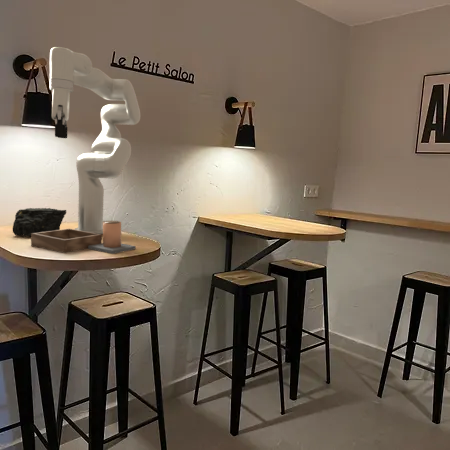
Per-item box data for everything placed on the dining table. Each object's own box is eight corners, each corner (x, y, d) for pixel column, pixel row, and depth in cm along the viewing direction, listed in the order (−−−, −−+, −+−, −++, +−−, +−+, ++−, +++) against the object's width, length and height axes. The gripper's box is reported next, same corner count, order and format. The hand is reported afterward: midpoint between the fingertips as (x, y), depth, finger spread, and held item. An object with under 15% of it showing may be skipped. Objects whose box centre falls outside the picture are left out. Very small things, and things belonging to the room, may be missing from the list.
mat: (111, 244, 160) (111, 241, 160) (135, 249, 154) (135, 246, 154) (88, 248, 150) (88, 245, 150) (112, 253, 145) (112, 250, 145)
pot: (111, 243, 156) (111, 219, 155) (124, 245, 154) (124, 221, 152) (99, 245, 151) (98, 221, 150) (112, 248, 148) (112, 223, 147)
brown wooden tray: (69, 239, 164) (69, 228, 163) (101, 245, 156) (101, 234, 156) (31, 245, 150) (31, 233, 149) (64, 252, 142) (64, 240, 142)
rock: (21, 231, 176) (11, 237, 161) (21, 206, 175) (11, 210, 160) (68, 232, 179) (62, 237, 165) (68, 207, 178) (62, 211, 164)
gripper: (52, 88, 160) (52, 137, 162) (47, 81, 143) (46, 136, 146) (74, 90, 162) (74, 139, 164) (71, 84, 145) (71, 137, 148)
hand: (61, 137), depth 155 cm, fingers open, 9 cm apart
